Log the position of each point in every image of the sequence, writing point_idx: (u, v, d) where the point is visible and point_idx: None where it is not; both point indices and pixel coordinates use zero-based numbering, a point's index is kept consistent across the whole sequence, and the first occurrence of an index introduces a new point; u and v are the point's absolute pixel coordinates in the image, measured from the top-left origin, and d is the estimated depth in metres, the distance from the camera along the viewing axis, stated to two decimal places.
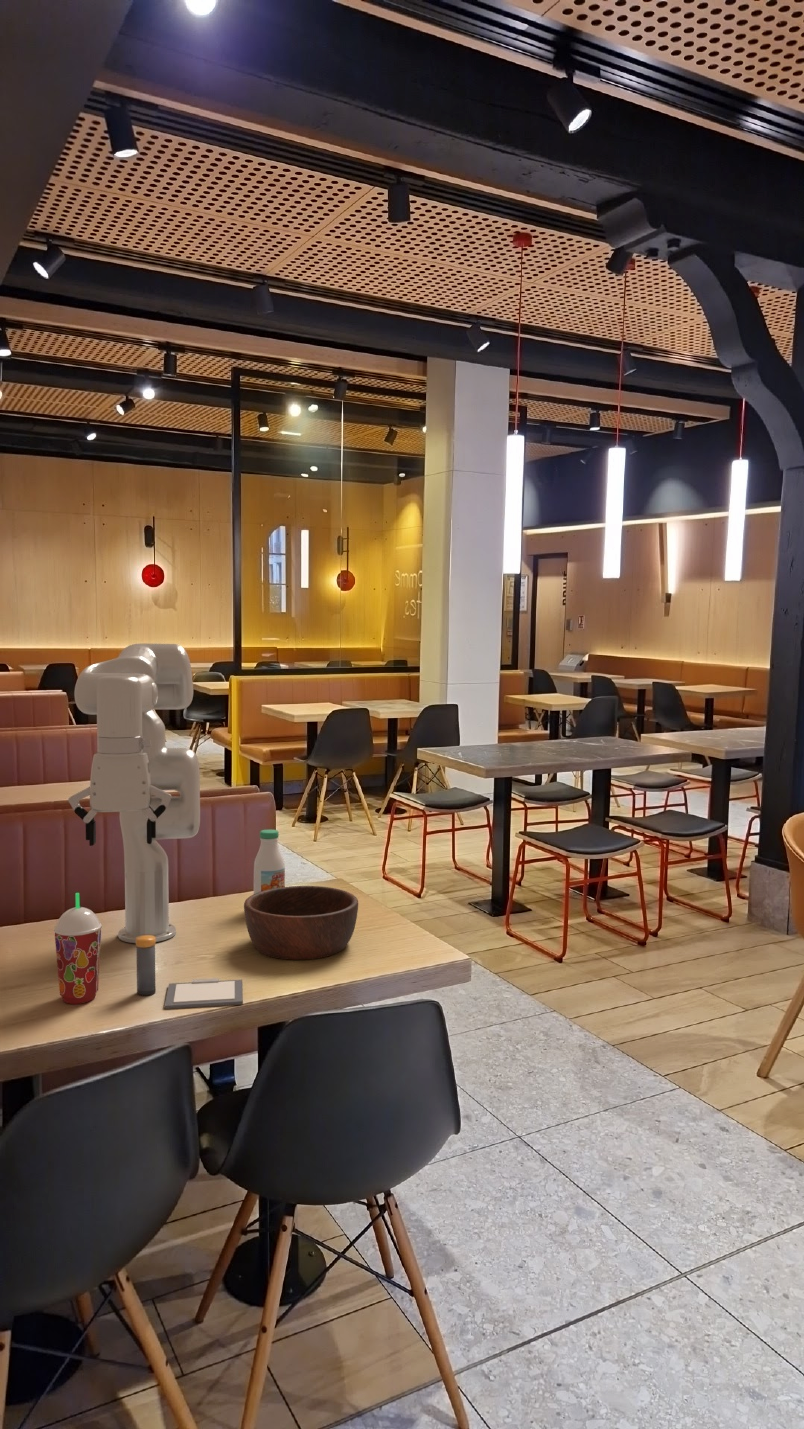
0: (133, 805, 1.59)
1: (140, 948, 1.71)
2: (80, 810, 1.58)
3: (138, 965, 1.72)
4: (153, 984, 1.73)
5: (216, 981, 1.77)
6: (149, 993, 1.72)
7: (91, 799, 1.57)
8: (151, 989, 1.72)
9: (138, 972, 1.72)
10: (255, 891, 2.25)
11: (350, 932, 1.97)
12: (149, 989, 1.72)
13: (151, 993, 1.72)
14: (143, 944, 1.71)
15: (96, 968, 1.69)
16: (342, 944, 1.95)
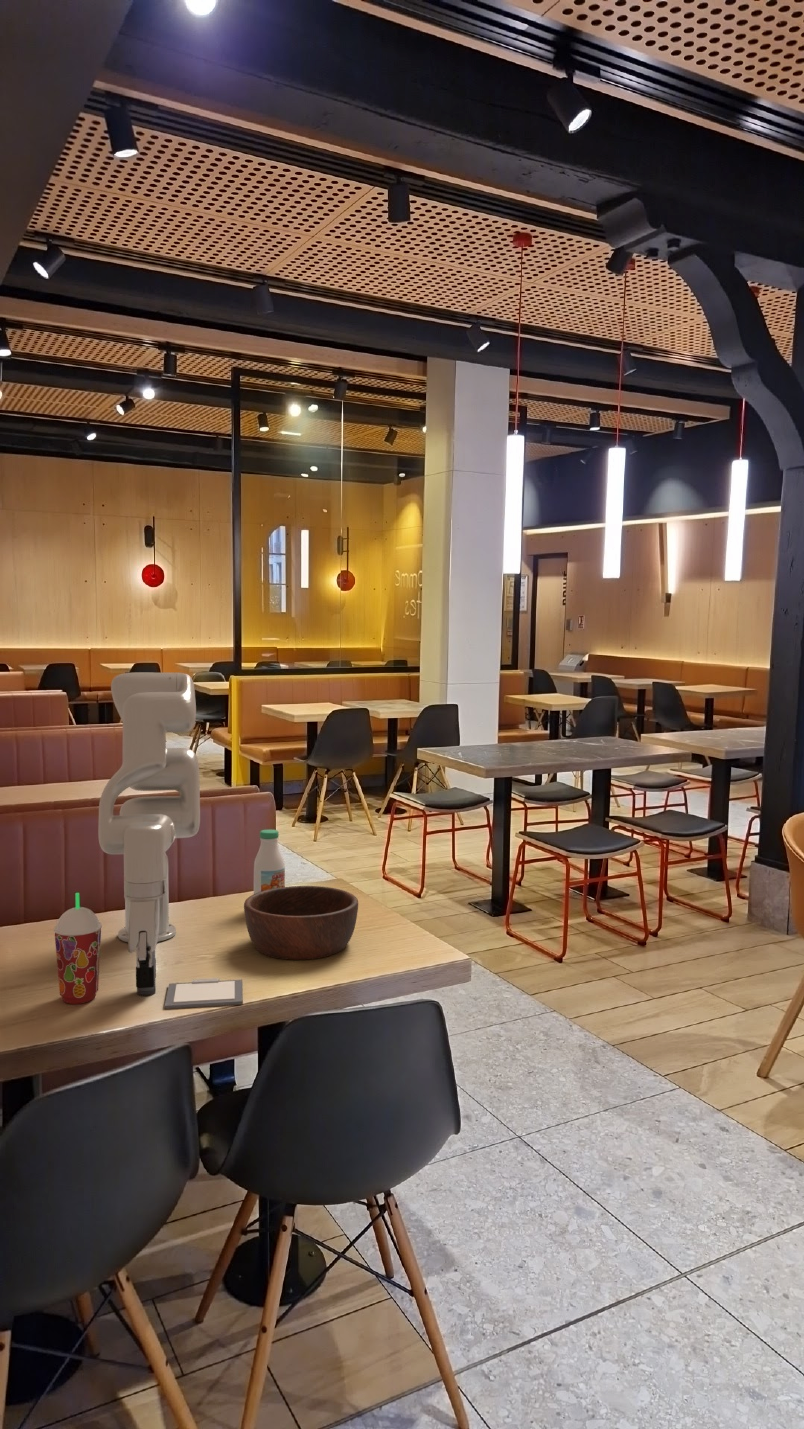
0: None
1: None
2: (148, 958, 1.69)
3: None
4: None
5: (216, 981, 1.77)
6: (149, 993, 1.72)
7: (154, 941, 1.68)
8: (151, 989, 1.72)
9: None
10: (255, 891, 2.25)
11: (350, 932, 1.97)
12: (149, 989, 1.72)
13: (151, 993, 1.72)
14: None
15: (96, 968, 1.69)
16: (342, 944, 1.95)
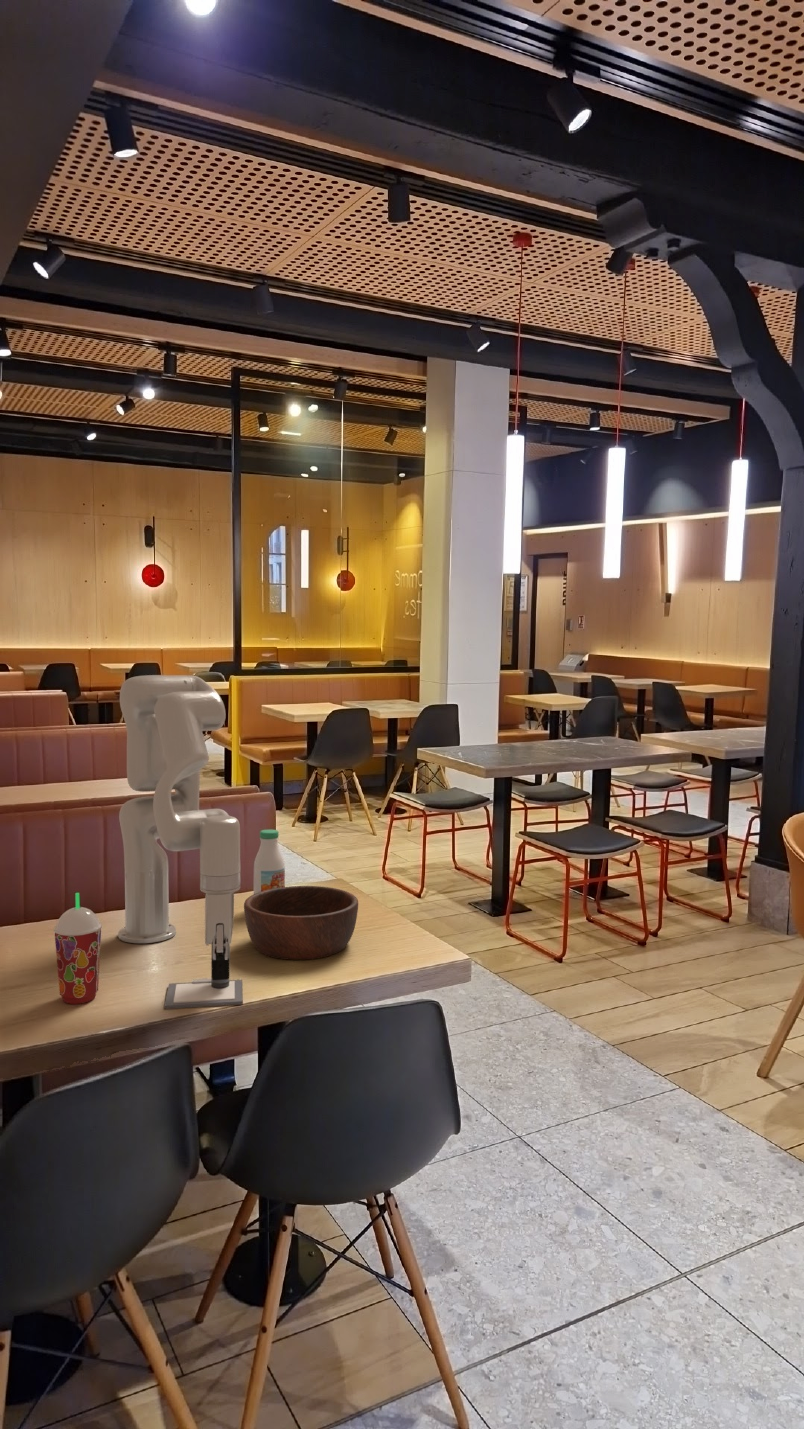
0: None
1: (216, 941, 1.73)
2: (224, 950, 1.71)
3: None
4: None
5: None
6: (224, 985, 1.74)
7: (230, 934, 1.70)
8: (225, 982, 1.74)
9: None
10: (255, 891, 2.25)
11: (350, 932, 1.97)
12: (224, 982, 1.74)
13: (225, 986, 1.74)
14: None
15: (96, 968, 1.69)
16: (342, 944, 1.95)
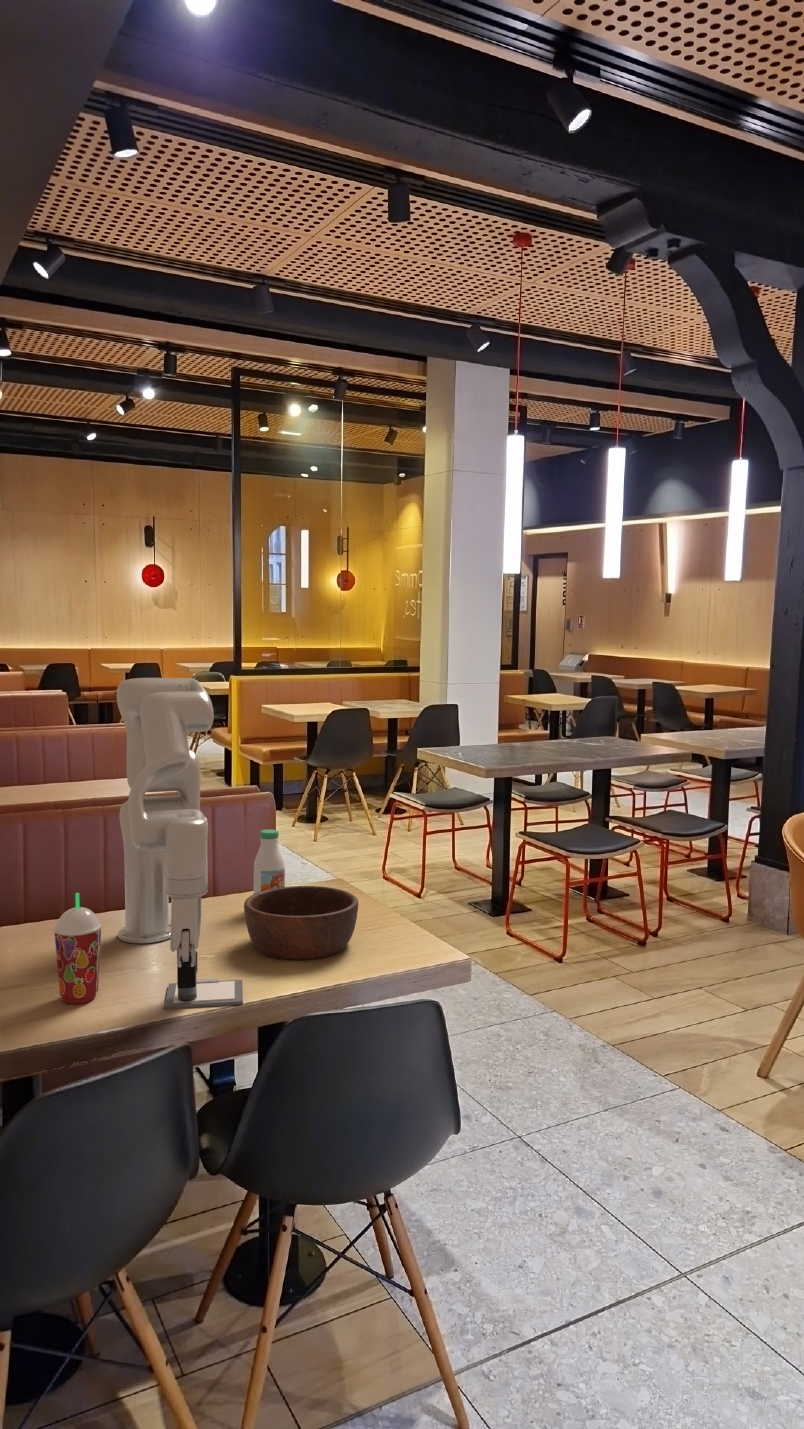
0: None
1: None
2: (190, 957, 1.63)
3: None
4: (195, 989, 1.68)
5: (216, 981, 1.77)
6: (191, 998, 1.68)
7: (197, 940, 1.64)
8: (193, 994, 1.68)
9: None
10: (255, 891, 2.25)
11: (350, 932, 1.97)
12: (191, 994, 1.68)
13: (193, 998, 1.68)
14: None
15: (96, 968, 1.69)
16: (342, 944, 1.95)
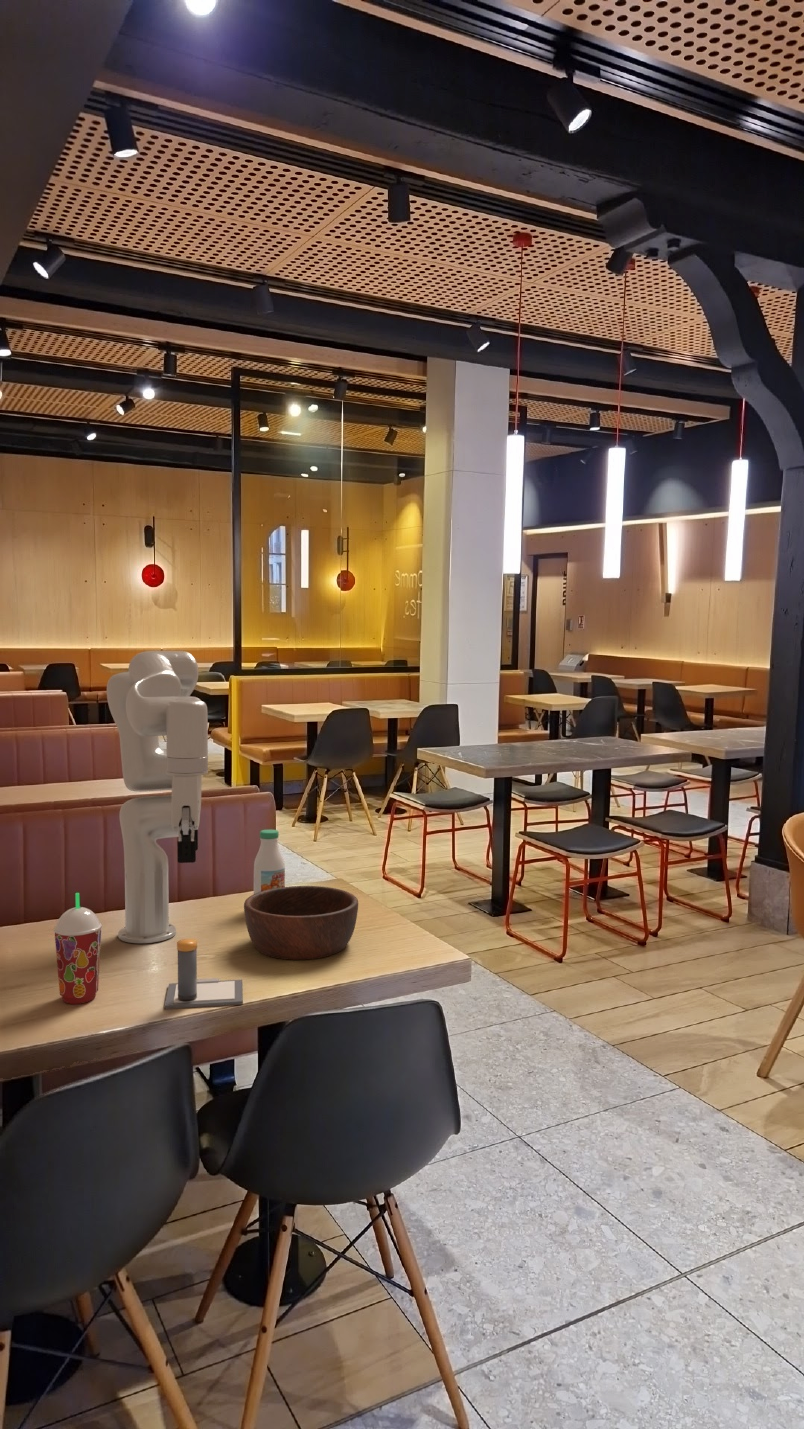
0: None
1: (182, 952, 1.67)
2: (190, 830, 1.65)
3: (180, 970, 1.67)
4: (195, 989, 1.68)
5: (216, 981, 1.77)
6: (191, 998, 1.68)
7: (197, 817, 1.67)
8: (193, 994, 1.68)
9: (180, 976, 1.67)
10: (255, 891, 2.25)
11: (350, 932, 1.97)
12: (191, 994, 1.68)
13: (193, 998, 1.68)
14: (185, 948, 1.66)
15: (96, 968, 1.69)
16: (342, 944, 1.95)
